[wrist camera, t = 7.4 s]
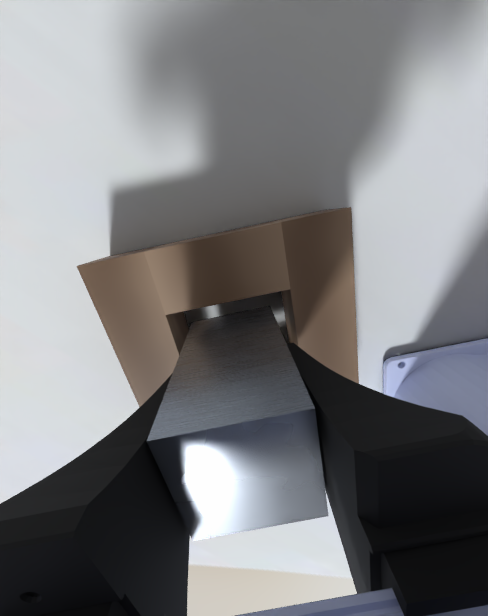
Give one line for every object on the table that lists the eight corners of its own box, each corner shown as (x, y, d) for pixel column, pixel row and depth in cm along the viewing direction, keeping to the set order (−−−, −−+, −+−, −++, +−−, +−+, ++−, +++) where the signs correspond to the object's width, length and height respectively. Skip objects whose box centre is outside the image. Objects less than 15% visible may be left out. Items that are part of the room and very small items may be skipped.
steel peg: (269, 306, 12) (315, 408, 6) (281, 372, 14) (328, 515, 7) (192, 322, 12) (146, 441, 6) (211, 385, 14) (192, 540, 7)
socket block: (325, 209, 13) (351, 207, 10) (339, 389, 17) (360, 422, 14) (109, 256, 13) (76, 266, 10) (174, 421, 17) (163, 460, 15)
